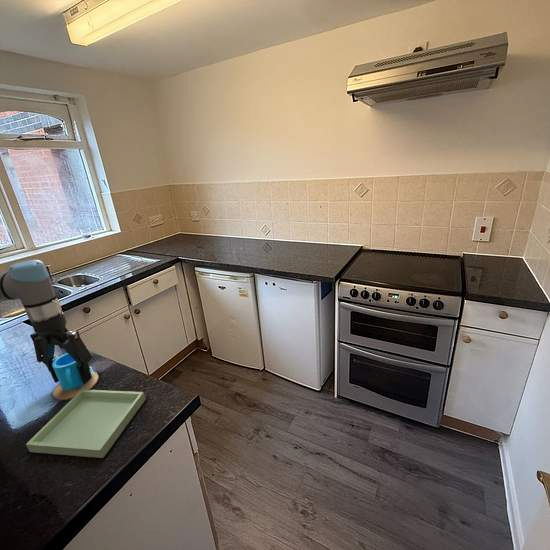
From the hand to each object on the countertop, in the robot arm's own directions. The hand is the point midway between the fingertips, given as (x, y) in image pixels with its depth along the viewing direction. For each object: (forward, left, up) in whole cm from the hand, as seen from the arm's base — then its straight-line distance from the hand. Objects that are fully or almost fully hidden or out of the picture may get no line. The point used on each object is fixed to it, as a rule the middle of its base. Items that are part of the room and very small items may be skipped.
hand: (73, 380), depth 91 cm
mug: (+1, 0, -2) cm, 2 cm away
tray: (+17, -13, -2) cm, 21 cm away
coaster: (+1, 0, -2) cm, 2 cm away
